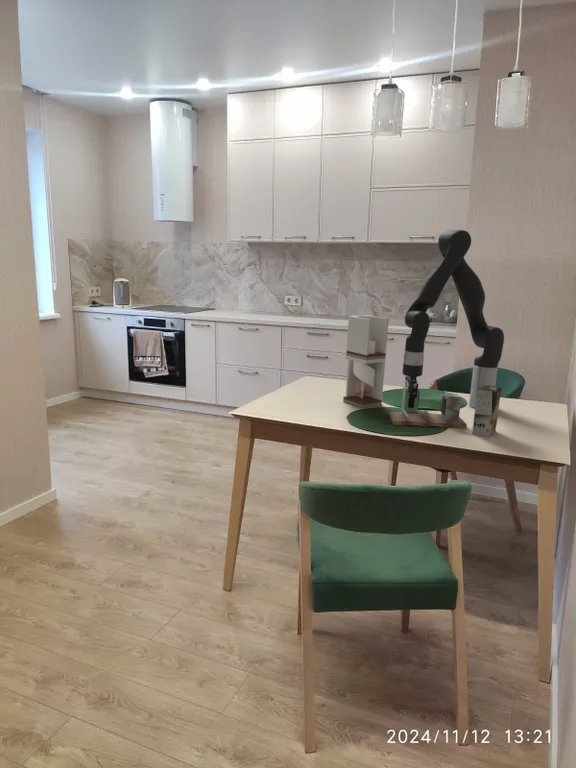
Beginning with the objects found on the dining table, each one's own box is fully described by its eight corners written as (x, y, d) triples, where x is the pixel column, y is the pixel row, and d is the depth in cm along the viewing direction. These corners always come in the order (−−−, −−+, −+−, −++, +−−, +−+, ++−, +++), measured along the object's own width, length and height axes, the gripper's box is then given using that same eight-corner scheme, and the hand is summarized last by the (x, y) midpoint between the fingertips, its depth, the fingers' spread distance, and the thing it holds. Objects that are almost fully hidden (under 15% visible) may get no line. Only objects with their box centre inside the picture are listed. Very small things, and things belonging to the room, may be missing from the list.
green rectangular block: (415, 408, 220) (417, 386, 218) (418, 412, 215) (420, 389, 213) (401, 408, 220) (403, 386, 218) (403, 411, 215) (405, 389, 213)
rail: (457, 418, 210) (460, 391, 208) (466, 428, 199) (469, 399, 196) (388, 415, 211) (390, 388, 208) (393, 424, 199) (395, 396, 197)
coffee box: (490, 437, 189) (496, 391, 186) (471, 433, 192) (477, 388, 189) (496, 431, 197) (501, 386, 193) (477, 427, 200) (482, 384, 196)
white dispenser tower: (343, 401, 229) (348, 316, 221) (361, 398, 235) (368, 315, 227) (362, 408, 220) (369, 319, 212) (381, 404, 226) (388, 318, 218)
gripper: (427, 366, 206) (423, 411, 210) (419, 359, 220) (415, 401, 224) (406, 366, 206) (403, 410, 210) (400, 359, 220) (396, 400, 224)
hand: (409, 405), depth 217 cm, fingers closed on green rectangular block, 5 cm apart
